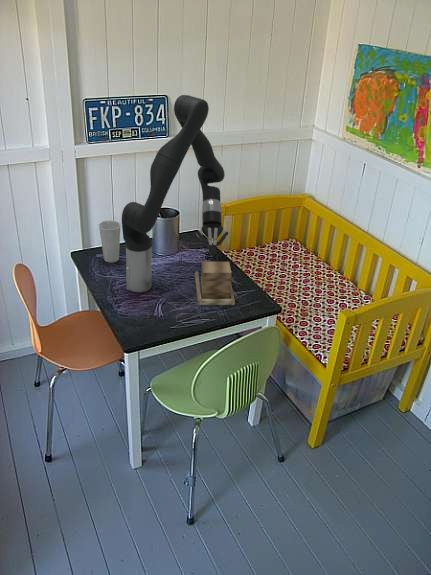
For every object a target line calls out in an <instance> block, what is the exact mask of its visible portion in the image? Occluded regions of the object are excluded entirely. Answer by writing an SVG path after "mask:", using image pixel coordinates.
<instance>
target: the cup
mask: <svg viewBox="0 0 431 575" xmlns="http://www.w3.org/2000/svg"><path fill="white" fill-rule="evenodd" d="M121 227H122V224H121V223H120V222H119V221H117V220H104V221H101V222H100V223H99V224H98V229H99V236H100V241H101V248H102V255H103V260H104V261H105V262H107V263H110V264H111V263H116V262H118V261H119V259H120V241H121Z"/></svg>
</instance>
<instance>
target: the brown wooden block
mask: <svg viewBox="0 0 431 575" xmlns="http://www.w3.org/2000/svg"><path fill="white" fill-rule="evenodd" d="M200 268H201V271H200V272H201V275H200V291H201V299H230V286H231V285H232V272H233V271H232V270H231V269H232V268H231V265H230V261H201V267H200Z"/></svg>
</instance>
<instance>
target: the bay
mask: <svg viewBox="0 0 431 575" xmlns="http://www.w3.org/2000/svg"><path fill="white" fill-rule="evenodd" d="M199 276H200V275H199V271H194V279H195V281H194V282H195V288H196V296H197V297H196V298H197V306H235V304H236V300H235V294H234V291H233V287H232V284H231V286H230V298H229V299H202V296H201V282H200V277H199Z"/></svg>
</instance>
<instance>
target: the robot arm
mask: <svg viewBox="0 0 431 575" xmlns="http://www.w3.org/2000/svg"><path fill="white" fill-rule="evenodd" d="M173 112H174V116H175V118H176V119H177V122H178V123H179V124H180V127H181V129H180V131H179V132H178V133H177V134H176V135H175V136H174V137H173V138H171V139H170V140H169V141H167V142H166V143H165V144H164V145H162V146H161V147H160V149H158V151H157V153H156V154H155V157H154V159H153V161H152V163H151V165H150V169H149V179H150V180H149V181H150V184H149V185H150V190H149V195H148V197H147V198H146V202H145V203H144V205H143V204H141V203H139V202H135V201H132V202H128V203H126V205H125V206H124V207H123V210H122V212H121V229H122V230H121V231H122V238H123V241H124V243H125V261H126V262H125V263H126V265H125V274H126V275H125V277H126V279H125V280H126V290H127V291H131V292H134V293H144V292H147V291H149V290H150V289H151V288H152V284H153V281H152V279H153V278H152V272H153V271H152V268H153V267H152V238H151V237H150V235H148V234H147V233H149V232H151V230H152V229H153V228H154V226H155V224H156V222H157V220H158V217H159V215H160V212H161V209H162V206H163V203H164V201H165V199H166V197H167V195H168V193H169V190H170V188H171V185H172V184H173V181H174V180H175V178H176V176H177V173H178V172H179V170H180V168H181V165H182V163H183V161H184V159H185V157H186V155H187V153H188V152H189V149H190V148H192V150H193V152H194V156H195V158H196V161H197V164H198V165H199V168H198V170H197V178H198V181H199V183H200V186H201V188H200V189H201V192H202V206H201V207H202V208H201V209H202V210H201V214H202V215H201V216H202V220H201V221H202V222H201V223H202V224H201V225H202V226H201V229H200V230H198V231H196V234H195V235H196V237H197V238H198V239H199V241H200V242H201V243H202V244H203V245H204V246H207V247H208V255H210V257H215V255H217V247H218V246H221V245H222V244H223V242H224V241H225V239H227V237H228V235H229V232H228V231H226V230H224V227H223V224H222V221H223V220H222V217H223V216H222V203H221V190H220V188H219V187H218V186H212V185H208V184H218V183H221V182H223V180H224V178H225V170H224V167H223V166H222V164H221V163H220V162H219V160H218V159H217V157H216V156H215V152H214V149H213V147H212V144H211V142H210V141H209V139H208V137H207V136H206V135H205V134H204V132H203V131H202V130H201V128H203V125H204V123H205V122H206V119H207V118H208V115H209V103H208V102H207V101H206V100H205V99H202V98H200V97H196V96H192V95H190V94H189V95H187V94H181V95H179V96H178V97H177V98H176V100H175V102H174V105H173ZM203 235H204V236H205V237H206V238H207V239H206V238H205V237H204V236H203ZM220 235H221V236H220ZM218 237H220V239H219V240H218Z"/></svg>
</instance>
